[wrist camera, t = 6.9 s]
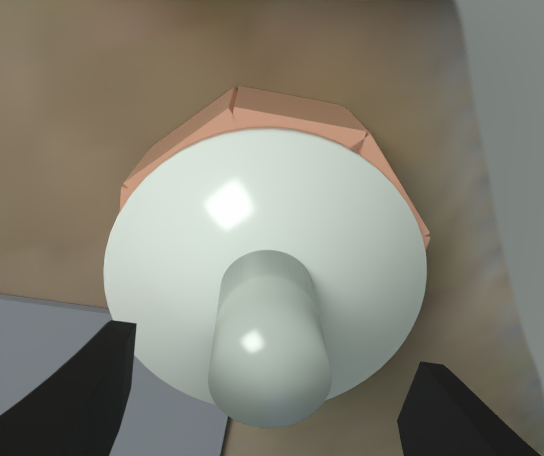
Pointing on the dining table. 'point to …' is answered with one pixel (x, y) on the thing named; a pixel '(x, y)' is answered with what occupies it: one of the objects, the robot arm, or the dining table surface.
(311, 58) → the dining table surface
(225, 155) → the lid
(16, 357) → the mat
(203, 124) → the bowl
